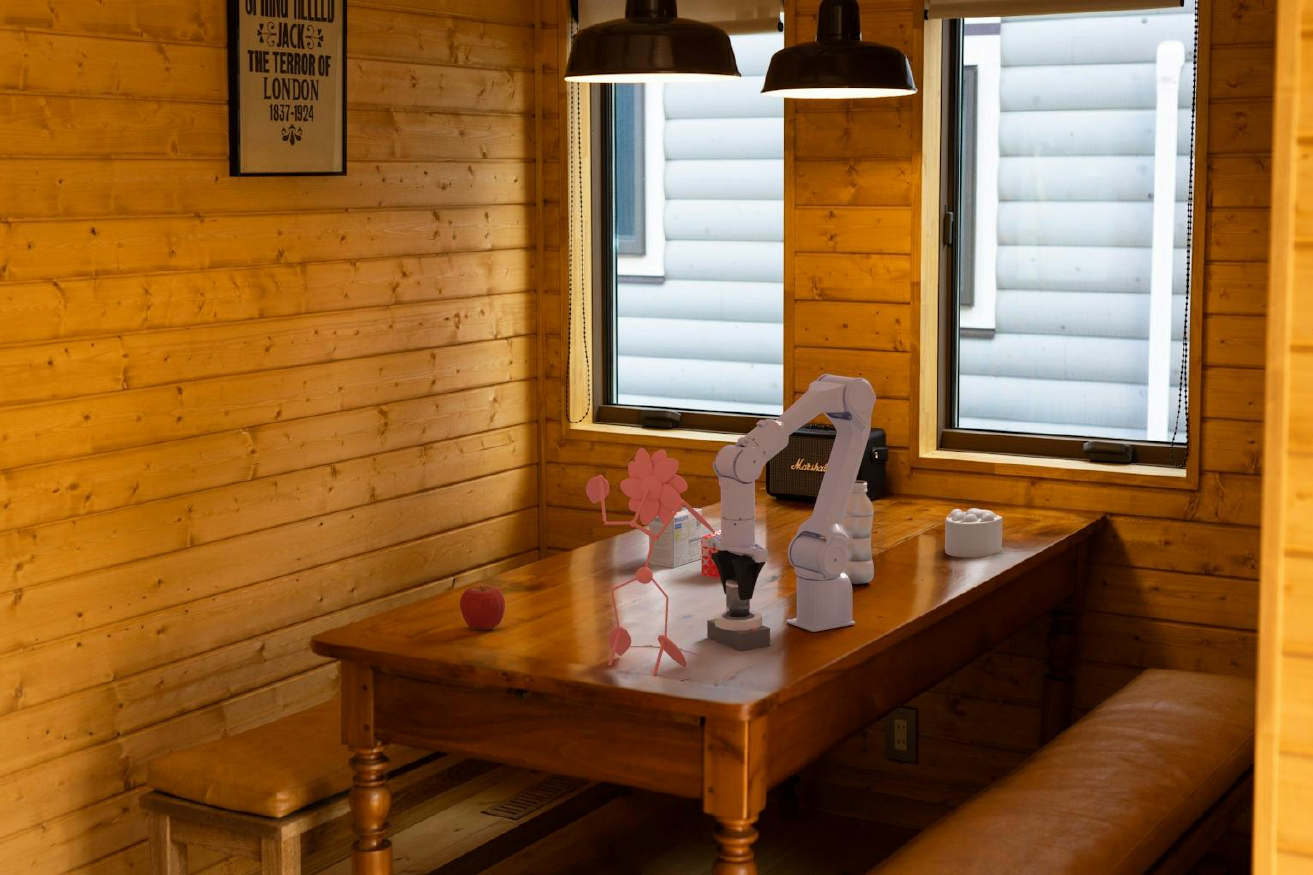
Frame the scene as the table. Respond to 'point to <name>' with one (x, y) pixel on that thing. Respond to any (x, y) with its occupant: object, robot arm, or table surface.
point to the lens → (735, 600)
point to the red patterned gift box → (708, 557)
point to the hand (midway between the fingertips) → (738, 596)
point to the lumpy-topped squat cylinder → (973, 533)
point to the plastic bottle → (859, 535)
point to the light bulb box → (676, 540)
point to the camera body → (739, 631)
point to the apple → (482, 607)
